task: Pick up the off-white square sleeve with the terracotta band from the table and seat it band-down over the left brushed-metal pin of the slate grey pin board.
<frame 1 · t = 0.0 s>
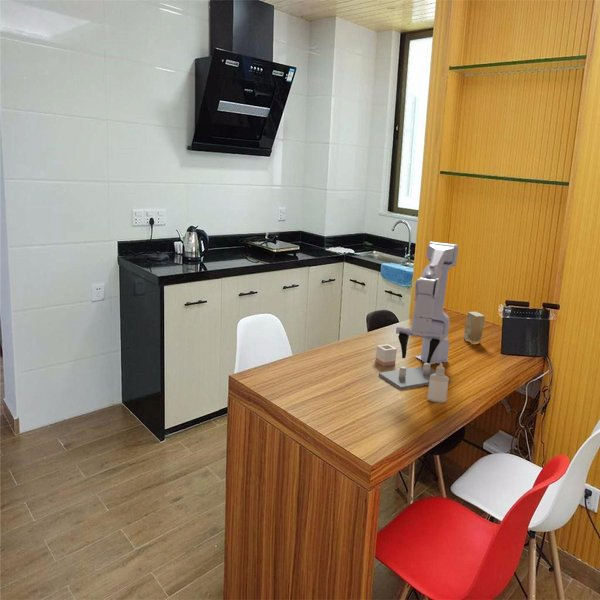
hand: (416, 360, 167), 11 cm above the table, tool pointing down, fingers open, 7 cm apart
sleeve: (385, 363, 192), on the table
skincare box: (471, 342, 221), on the table
eye dropper bottle: (436, 400, 164), on the table
pin board: (413, 378, 180), on the table
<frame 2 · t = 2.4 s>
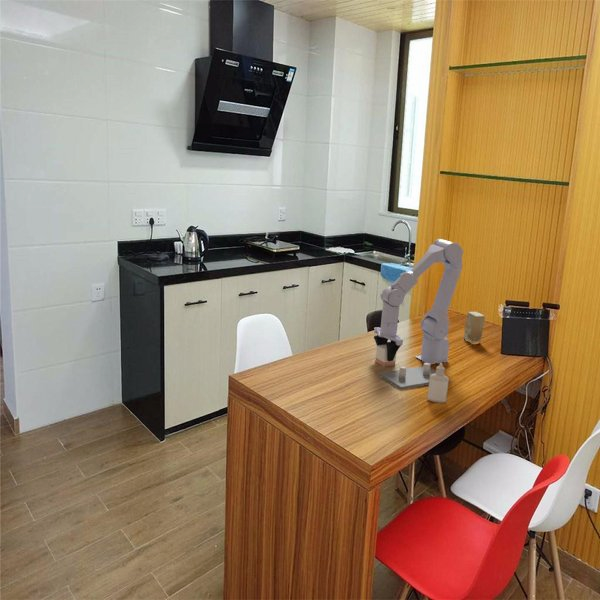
hand: (385, 357, 192), 2 cm above the table, tool pointing down, fingers closed on sleeve, 5 cm apart
sleeve: (385, 363, 192), on the table, touching gripper
everything else where it was.
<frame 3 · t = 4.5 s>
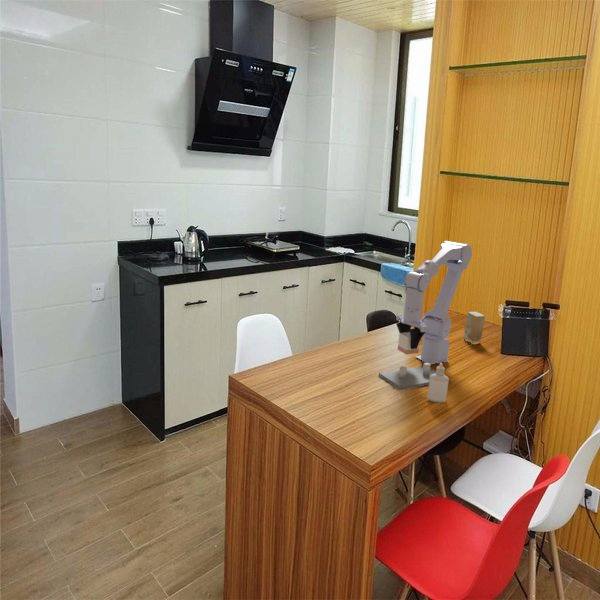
hand: (408, 345, 185), 9 cm above the table, tool pointing down, fingers closed on sleeve, 5 cm apart
sleeve: (407, 351, 185), point 7 cm above the table, touching gripper
everything else where it was.
when the fingers open (4 cm above the table, at t = 6.6 s): sleeve drops 1 cm, resting on pin board.
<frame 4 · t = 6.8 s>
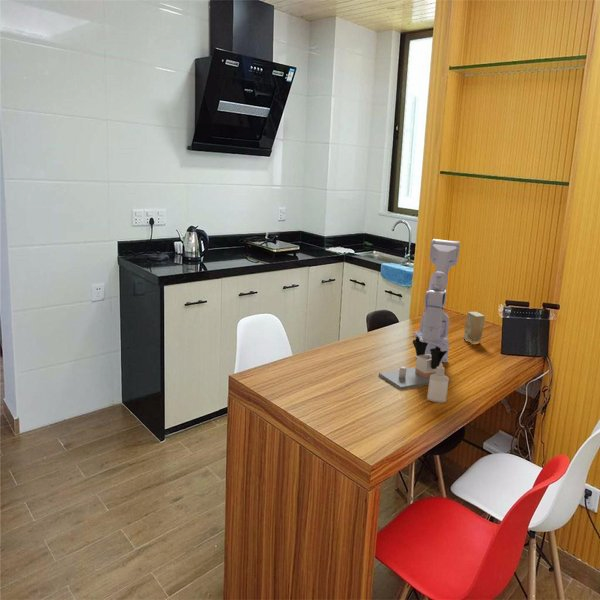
hand: (427, 364, 181), 4 cm above the table, tool pointing down, fingers open, 7 cm apart
sleeve: (425, 373, 182), point 1 cm above the table, touching pin board
everything else where it was.
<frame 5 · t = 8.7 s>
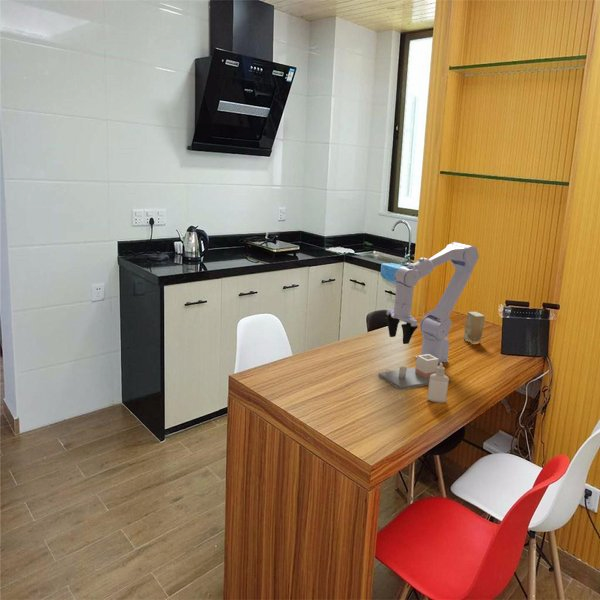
hand: (399, 340, 188), 9 cm above the table, tool pointing down, fingers open, 7 cm apart
nothing on the table moved.
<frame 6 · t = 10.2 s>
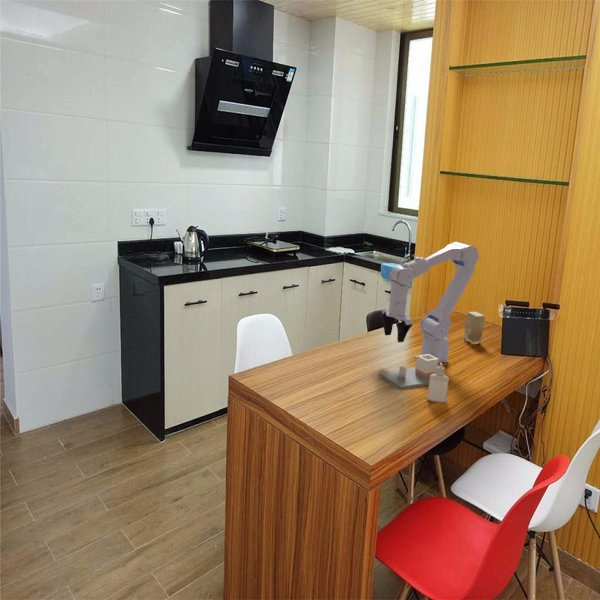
hand: (394, 338, 190), 9 cm above the table, tool pointing down, fingers open, 7 cm apart
nothing on the table moved.
at the end: sleeve 0.1 cm from the target spot on the pin board, point 1.0 cm above the pin board's base; sleeve tilted 0°; the gripper is holding nothing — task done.
